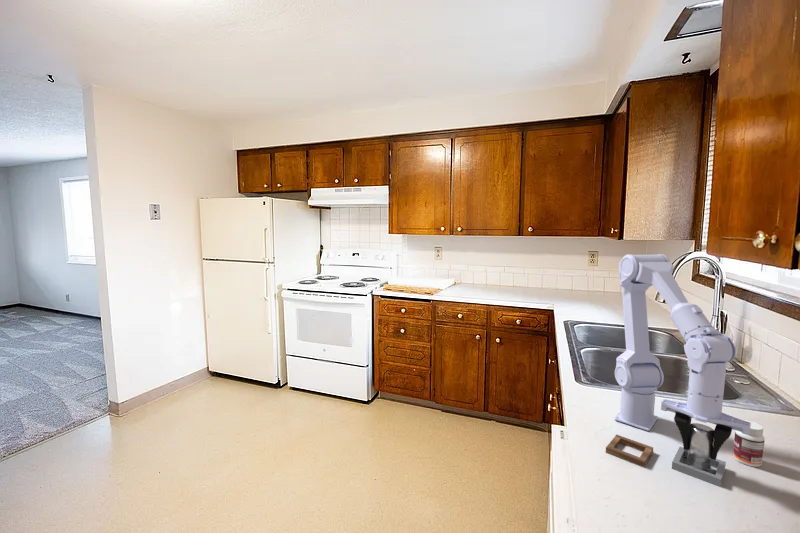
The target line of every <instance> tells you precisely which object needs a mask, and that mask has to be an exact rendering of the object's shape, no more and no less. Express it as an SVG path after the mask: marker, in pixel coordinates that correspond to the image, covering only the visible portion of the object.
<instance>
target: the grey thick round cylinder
mask: <svg viewBox="0 0 800 533" xmlns="http://www.w3.org/2000/svg"><path fill="white" fill-rule="evenodd" d="M713 444H714V428H712V427H711V426H708V425H706V424H703V423H698V422H696V423H695V422H694V423H692V422H691V424H690V433H689V444H688V456H687V457H686V458H687V460H686V461H687V463H688V464H689V466H692V467H695V468H697V469H700V470H703V471H707V470H708V471H709V470H711V468H712V466H711V462H712V459H711V454H712V450H713Z"/></svg>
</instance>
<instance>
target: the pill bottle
mask: <svg viewBox="0 0 800 533" xmlns="http://www.w3.org/2000/svg"><path fill="white" fill-rule="evenodd" d="M742 420H743V421H747V422H750V423H751V426H750V434H749V435H746V434H743V433H742V432H740V431H737V430H734V440H733V449H732V456H733V458H734V459H735V461H737V462H739V463H740V464H743V465H746V466H750V467H755V468H758V467H761V466H762V464H763V456H764V450H765V449H764V447H765V436H764V435H763V434H764V426H762V425H761V424H759V423H757V422H754V421H752V420H751V421H750V420H746V419H742Z"/></svg>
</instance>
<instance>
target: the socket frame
mask: <svg viewBox="0 0 800 533" xmlns="http://www.w3.org/2000/svg"><path fill="white" fill-rule="evenodd" d="M620 445H623V446H624V445H625V446H627V447H629V448H632V449H635V450H638V451H639V452H642V453H641V455H640V456H638V455H634V454H632V453H629V452H627V451H624V450H621V449H619V448H618V446H620ZM605 453H606V454H609V455H611V456H614V457H616V458H618V459H621V460H624V461H627V462H629V463H631V464H635V465H637V466H640V467H642V468H645V467H646V465H647V464H648V462H649V460H650V458H651V457H652V455H653V453H654V447H653V446H649V445H648V444H644V443H641V442H638V441H637V440H633V439H630V438H627V437H625V436H622V435H620V434H615V436H614V437H612V439H611V441H610V442H609V443H608V444H607V445H606V447H605Z"/></svg>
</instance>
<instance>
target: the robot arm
mask: <svg viewBox="0 0 800 533" xmlns="http://www.w3.org/2000/svg"><path fill="white" fill-rule="evenodd" d="M617 265H618V266H617V268H618V277H619V278H618V280H619V286H620V287H621V292H622V293H621V294H622V310H623V323H624V337H625V338H624V339H625V340H624V341H625V350H624V352H622V353H621V354H619V355H618V356H617V357H616V363H615V364H616V365H615V369H614V377H615V381H616V382H617V383H618V385H619V386H620V387H621V392H620V393H621V394H620V408H619V409H620V410H619V413H618V414H617V415H616V416H615V417H614V421H617V422H620V423H623V424H627V425H629V426H632V427H634V428H635V427H636V428H638V429H640V430H644V431H647V432H650V431H651V429H652V428H653V427H654V425H655V424H656V422H657V420H658V419H659V417H658V416H657V415H656V414H655V403H656V402H655V401H656V393H655V392H658V388H660V387H661V386H662V385H663V384H664V379H665V376H664V372H663V370H662V367H661V363H660V361H661V360H660V358H658V357H656V355H654V354H653V353H652V352H651V350H650V335H649V322H648V309H647V308H648V307H647V296H646V295H647V294H646V291H648V289H649V288H651V286H653V287H654V289H655V290H656V291H657V292H658V294H659V295H660V296H661V297H662V299H663V300H664V301H665V303H666V304H667V305H668V306H669V307H670V309H671V311H670V314H669V315H670V319H671V321H672V322H673V325H674V326H675V327H676V329H677V330H678V332H679V333H680V335H681V337H682V338H683V339H684V341H685V342H686V343H685V344H683V350H684V353H685V356H686V357H687V358H686V359H687V363H686V364H687V366H688V368H689V375H688V376H689V378H688V387H687V388H688V389H687V399H686V402H682V401H681V402H680V401H674V400H670V399H665V398H663V399H662V400H661V403H660V411H664V412H672V413H675V414H674V417H673V420H674V423H675V424H676V427H677V428H678V431H679V434H680V437H681V440H682V444H683V445H682V446H683V448H684V450H687V451H688V444H689V433H690V424H692V418H693V419H694V420H695V421H698V422H701V423H706V424H707V423H709V424H713V425H715V427H714V428H713V430H714V441H713V450H712V454H711V459H713V460H716V459H717V457H718V453H719V451H720V449H721V448H722V446H723V444H724V443H726V441H727V440H729V438H730V436H731V435H732V431H735V430H737V431H740V432H742V433H743V434H746V435H749V434H750V426H751V423H750V422H747V421H748V420H747V421H743V420H744V419H740V418H738V417H735V416H732V415H729V414H727V413H724V412H723V402H724V393H725V382H726V372H727V363H731V362H733V360H734V359H735V357H736V354H737V350H736V349H737V348H736V346H735V343H734V342H733V340H732V338H731V337H730V336H729V335H727V334H724V333H722V332H720V330H718V329H715V328H714V326H713V325H712V324H711V321H709V318H707V316H706V315H705V314H704V312H703V309H702V308H701V307H700V306H698V305H697V304H694V303H690V302H689V301H688V299H687V298H686V295H685V294H684V293H683V290H682V289H681V287H680V286H679V284H678V282H677V279H676V278H675V277H674V275H673V272H674V265H673V264H672V263H671V261H670V259H669V257H668V256H667V255H666V254H663V253H658V254H631V253H630V254H625V255H624V256H623V257H622V258H621V259H620V261H619V262H618V264H617Z"/></svg>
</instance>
